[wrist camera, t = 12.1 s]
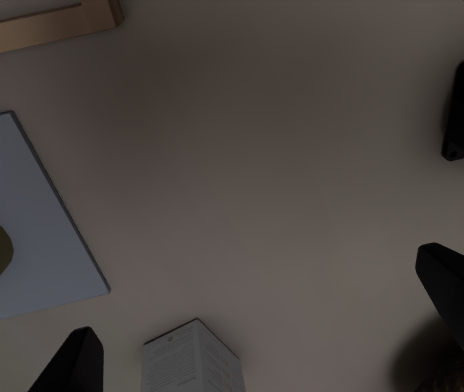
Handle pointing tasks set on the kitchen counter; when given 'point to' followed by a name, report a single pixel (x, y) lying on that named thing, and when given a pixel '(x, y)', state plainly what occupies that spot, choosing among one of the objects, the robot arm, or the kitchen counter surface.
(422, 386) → the ceramic pot
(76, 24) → the walnut frame
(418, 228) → the kitchen counter surface
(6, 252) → the cork
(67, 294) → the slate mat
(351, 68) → the kitchen counter surface
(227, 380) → the small box
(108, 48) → the kitchen counter surface
